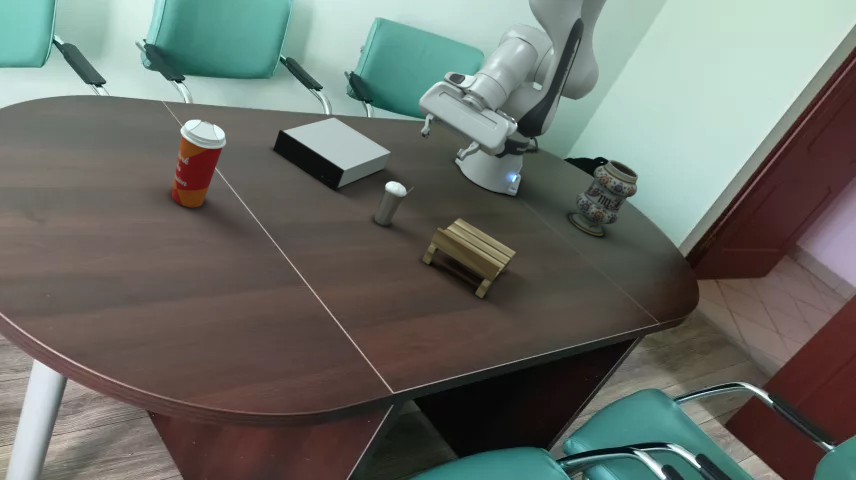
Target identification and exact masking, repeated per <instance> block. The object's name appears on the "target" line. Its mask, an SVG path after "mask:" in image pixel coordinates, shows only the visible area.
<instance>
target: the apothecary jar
mask: <svg viewBox="0 0 856 480" xmlns="http://www.w3.org/2000/svg"><path fill="white" fill-rule="evenodd" d="M593 178H594V179H593V180H592V182H591V184H589V187H588V188H587V189H586V191H582V192H580V193H578V194H577V196H576V197H575V204H576V207H577V209H578V210H579V212H580V213H571V214H569V220H570V221H571V223H572V224H573V225H574V226H576V228H578V229H579V230H581V231H583V232H584V233H587V234H588V235H591V236H592V235H593V236H598V237H599V236H603V235H604V230H603V228H602V226H601V225H613V224H615V223H617V221H618V220H619V218H620V209H621V207H622V205H623V204H624V203H625V201H626V200H627V199H628V198H632V197H633V196H635V195H636V194H637V191H638V185H637V182H638V179H639V174H638V173H637V172H636V171H635V170H633V169H632V168H631V167H629V166H628V165H626V164H624V163H622V162H620V161H617V160H614V159H609V160H608V161H607V162H606V163H605V164H604V165H599V166H597V167H596V168H595V169H594V171H593ZM600 224H601V225H600Z"/></svg>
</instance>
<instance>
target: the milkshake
mask: <svg viewBox="0 0 856 480" xmlns="http://www.w3.org/2000/svg"><path fill="white" fill-rule="evenodd" d="M414 188H415V187H414V186H413V187H411V188H410V189H409V190H408V191H407V189H406V187H405V186H404V185H402V184H401V183H400V182H397V181H392V180H391V181H388V182H387V183H386V184H385V186H384V189H383V192H382V195H381V198H380V201H379V204H378V207H377V209H376V212H375V215H374V217H373V218H374V221H375V222H376V223H377V224H378V225H380V226H383V227H387V226H388V225H390V223H391V221H392V219H393V217H394V216H395V214H396V212H397V211H398V209H399V207H400V205H401V204H402V203H403V201H404V199H405V197H406V195H407V194H408V193H410V191H412V190H413V189H414Z"/></svg>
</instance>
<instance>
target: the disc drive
mask: <svg viewBox="0 0 856 480" xmlns="http://www.w3.org/2000/svg"><path fill="white" fill-rule="evenodd" d="M272 151H273V152H275V153H277V154H279V155H280V156H281V157H283V158H284V159H286V160H288V161H289V162H291V163H293V164H294V165H295V166H297V167H299V168H300V169H301V170H303V171H305V172H306V173H307V174H309V175H311V176H312V177H314V178H315V179H317V180H319V181H320V182H321V183H323V184H325V185H326V186H328V187H329V188H331V189H332V190H334V191H337V190H338V189H339V188H341V187H344V186H346V185H348V184H351V183H353V182H355V181H357V180H360V179H362V178H365V177H367V176H369V175H371V174H374V173H376V172H378V171H381V170H384V169H385V167H386V165H387V162H388V160H389V158H390V155H391V151H389V150H388V149H386V148H385V147H383V146H382V145H380V144H378V143H376V142H375V141H373V140H372V139H370V138H368V137H367V136H365V135H364V134H362V133H360V132H359V131H357V130H356V129H353V128H352V127H350V126H349V125H347V124H345V123H344V122H342V121H341V120H339V119H338V118H336V117H329V118H327V119H323V120H319V121H315V122H313V123H308V124H304V125H300V126H297V127H293V128H289V129H286V130H285V129H284V130H283V129H280V130H279V131H278V134H277V137H276V140H275V143H274V146H273V149H272Z"/></svg>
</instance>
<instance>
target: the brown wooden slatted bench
mask: <svg viewBox="0 0 856 480" xmlns="http://www.w3.org/2000/svg"><path fill="white" fill-rule="evenodd" d="M430 242H431V243H430V245H429V246H428V248H427V250H426V251H425V253H424V256H423V257H422V259H421V261H423V263H426V264H427V265H430V264H431V263H432V262H433V260H434V258H435V256H436V254H437V253H438V250H440V251H442V252H443V253H445V254H447V255H448V256H449V257H451V258H453V259H454V260H456V261H458V262H459V263H461V264H462V265H464V266H466V267H467V268H469V269H470V270H472V271H474V272H475V273H477V274H479V276H481V277H483V278H484V279H483V280H482V281H481V283H480V284H479V286H478V287H477V290H476V291H475V293H474V295H475V296H477V297H479V298H480V299H483V298H484V297H485V295H486V294H487V292H488V290H489V289H490V287H491V285H492V283H493V281H495V279H496V278H497V277H498V275H499V274H500V273H504V272H506V269H507V268H508V267H509V265H510V262H512V260H513V257H514V256H515V255H516V251H514V250H513V249H511V248H509V247H508V246H506V245H505V244H503V243H501V242H500V241H498V240H496V239H494V238H493V237H491V236H489V235H488V234H487V233H485V232H483V231H481V230H480V229H478V228H477V227H475V226H473V225H471V224H470V223H468V222H466V221H465V220H463V219H462V218H460V217H459V218H457V219H456V220H455V221H454V222H453V223H451V224H450V225H449V226H447V228H446V229H442V228H441V227H437V229H436V231H435V232H434V235H433V237H432V239H431V240H430Z"/></svg>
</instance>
